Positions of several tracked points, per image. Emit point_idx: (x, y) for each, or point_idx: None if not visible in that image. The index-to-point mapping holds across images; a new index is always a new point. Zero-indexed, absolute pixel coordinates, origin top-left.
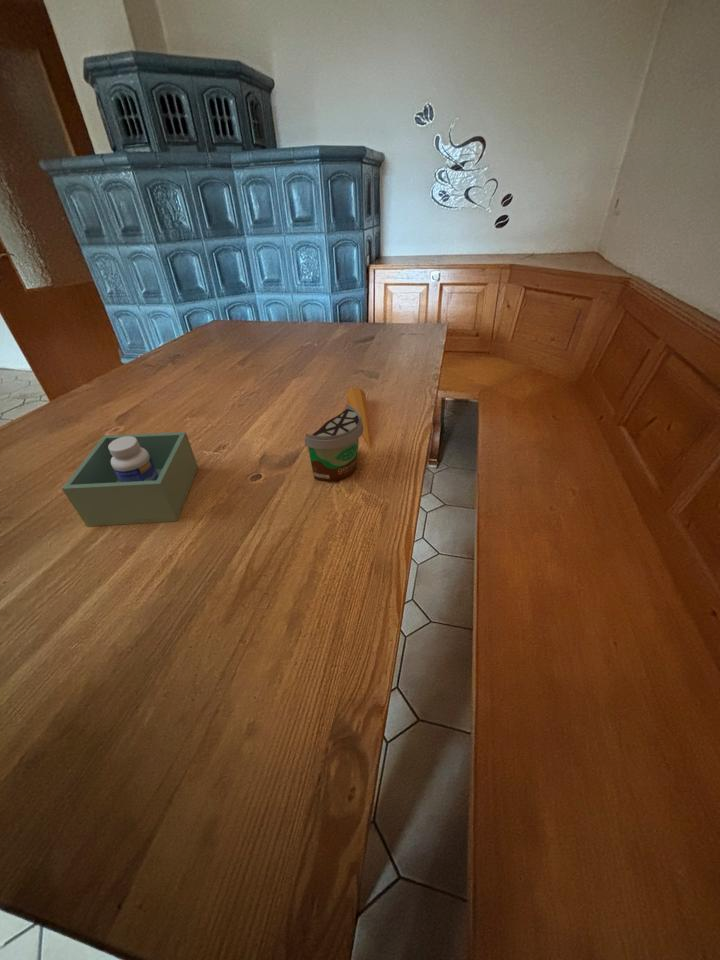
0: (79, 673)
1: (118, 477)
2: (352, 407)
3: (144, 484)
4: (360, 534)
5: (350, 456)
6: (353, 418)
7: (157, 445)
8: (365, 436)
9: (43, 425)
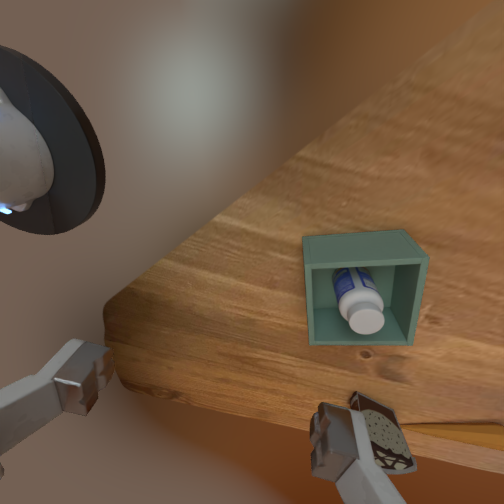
0: (175, 294)
1: (341, 287)
2: (408, 472)
3: (308, 334)
4: (289, 409)
5: None
6: (392, 465)
7: (405, 306)
8: (412, 428)
9: None
